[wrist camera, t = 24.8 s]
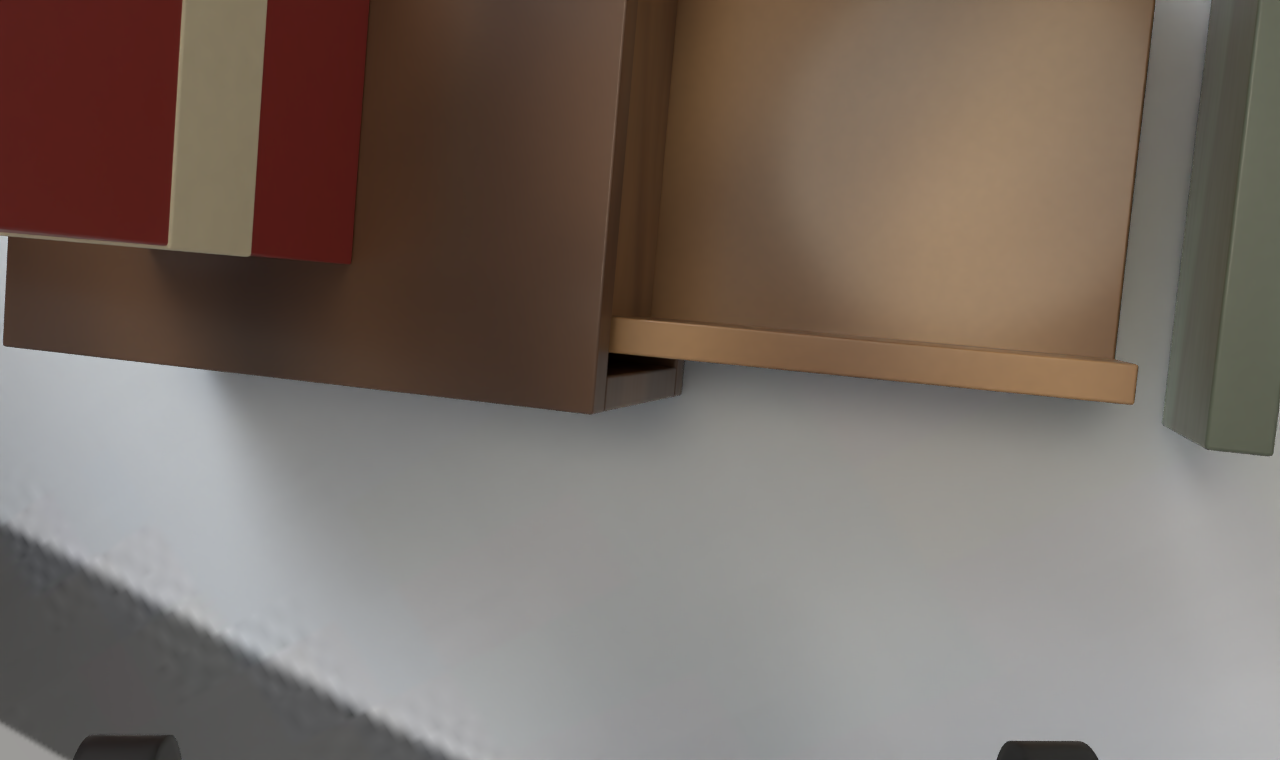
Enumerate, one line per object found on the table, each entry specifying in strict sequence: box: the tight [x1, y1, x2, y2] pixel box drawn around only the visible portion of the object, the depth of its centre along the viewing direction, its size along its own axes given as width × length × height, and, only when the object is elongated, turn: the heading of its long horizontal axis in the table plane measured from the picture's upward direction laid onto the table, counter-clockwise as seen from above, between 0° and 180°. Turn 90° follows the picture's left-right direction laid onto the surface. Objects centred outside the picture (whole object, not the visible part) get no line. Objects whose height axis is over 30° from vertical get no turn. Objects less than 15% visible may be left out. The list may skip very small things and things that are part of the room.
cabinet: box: [3, 0, 684, 415], centre depth 30 cm, size 16×14×8 cm
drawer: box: [609, 0, 1280, 456], centre depth 26 cm, size 16×12×6 cm
